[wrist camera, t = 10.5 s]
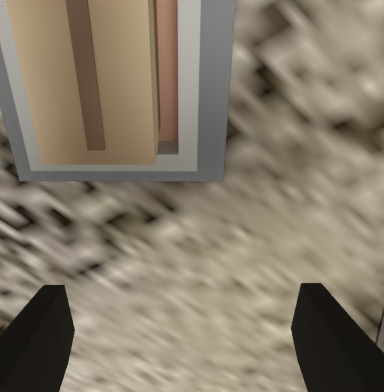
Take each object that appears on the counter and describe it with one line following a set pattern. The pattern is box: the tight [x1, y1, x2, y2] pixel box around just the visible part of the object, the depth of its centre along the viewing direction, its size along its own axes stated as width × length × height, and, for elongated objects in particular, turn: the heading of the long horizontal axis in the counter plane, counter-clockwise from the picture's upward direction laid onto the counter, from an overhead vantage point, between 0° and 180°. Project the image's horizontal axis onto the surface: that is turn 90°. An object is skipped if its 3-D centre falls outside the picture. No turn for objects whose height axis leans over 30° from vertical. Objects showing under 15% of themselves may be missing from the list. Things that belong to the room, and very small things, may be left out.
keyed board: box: [0, 0, 235, 181], centre depth 14 cm, size 14×10×2 cm
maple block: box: [6, 0, 161, 165], centre depth 13 cm, size 4×8×4 cm, turn 179°
